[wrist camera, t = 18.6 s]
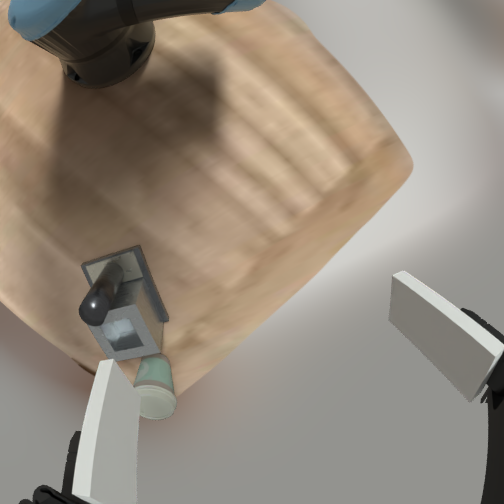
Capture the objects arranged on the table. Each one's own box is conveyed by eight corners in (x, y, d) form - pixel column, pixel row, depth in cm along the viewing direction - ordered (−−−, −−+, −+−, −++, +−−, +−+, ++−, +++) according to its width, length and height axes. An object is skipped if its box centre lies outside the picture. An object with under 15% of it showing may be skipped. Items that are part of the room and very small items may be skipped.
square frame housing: (83, 263, 38) (62, 288, 30) (139, 244, 40) (127, 268, 31) (116, 329, 44) (105, 363, 36) (169, 317, 45) (166, 351, 37)
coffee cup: (147, 339, 46) (141, 386, 35) (184, 359, 49) (186, 406, 38) (128, 364, 47) (120, 409, 36) (163, 381, 51) (162, 426, 40)
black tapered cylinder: (108, 285, 39) (87, 328, 28) (100, 266, 38) (74, 305, 27) (127, 279, 40) (109, 323, 29) (118, 259, 38) (96, 298, 27)
